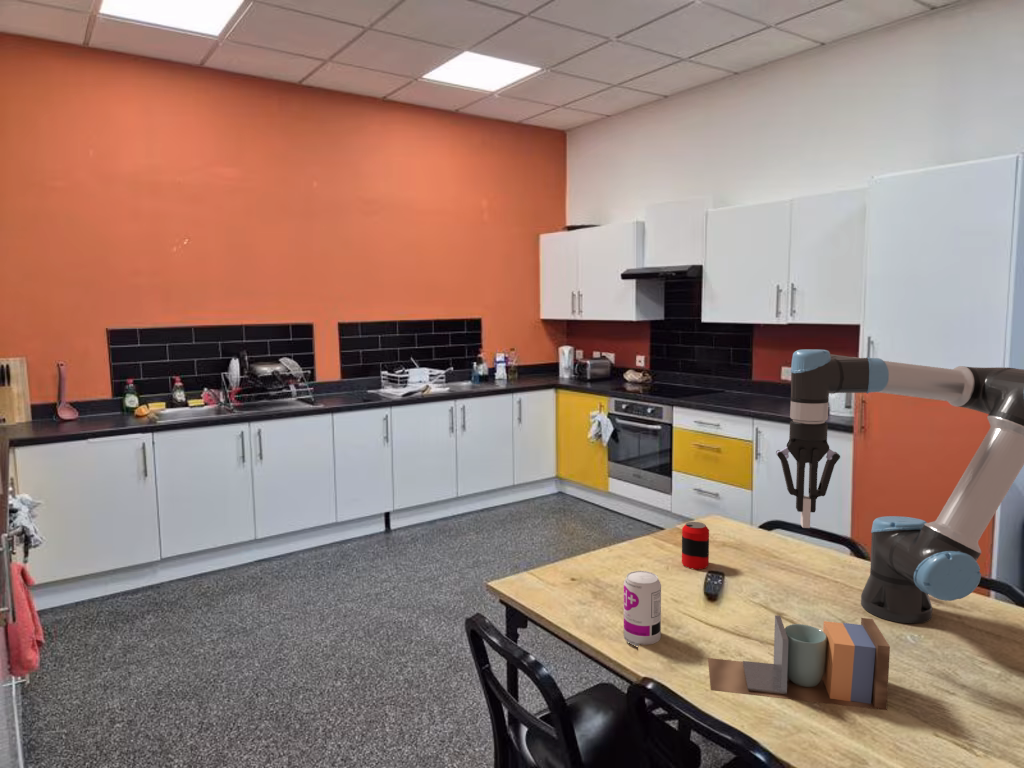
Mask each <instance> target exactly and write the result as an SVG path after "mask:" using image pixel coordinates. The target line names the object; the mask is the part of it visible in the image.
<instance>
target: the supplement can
mask: <svg viewBox="0 0 1024 768" xmlns="http://www.w3.org/2000/svg"><path fill="white" fill-rule="evenodd" d="M661 620H662V584H661V581H660V579H659V577H658V575H656V574H655V573H653V572H650V571H647V570H635V571H634V570H633V571H631V572H629V573H627V575H626V577H625V579H624V581H623V639H624V640H625V641H626V642H627V643H628V642H629V643H630V644H632V645H635V646H638V647H639V645H643V646H646V645H647V646H648V645H653V644H656V643H658V642H659V641H660V640H661V638H662V637H661V636H662V632H661V631H662V630H661V629H662V627H661V626H662V625H661V624H662V622H661ZM629 643H628V644H629ZM630 644H629V645H630ZM632 645H631V646H632ZM638 647H637V648H638Z"/></svg>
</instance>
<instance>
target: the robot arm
mask: <svg viewBox="0 0 1024 768" xmlns="http://www.w3.org/2000/svg"><path fill="white" fill-rule="evenodd" d="M790 365H791V367H790V373H791V374H790V377H791V378H790V407H789V410H790V411H789V418H790V419H791V420H790V421H789V439H788V441H787V444H786V447H784V448H782V449H777V450H776V452H775V454H776V456H777V457H778V458H779V460H780V463H781V467H782V473H783V475H784V480H785V484H786V489H787V491H788V494H790V495H792V496H794V497H796V498H795V509H796V510H797V512H798V513H800V526H801V527H802V528H803V529H810V528H811V514H812V513H815V512H816V509H817V508H816V506H817V499H818V498H819V497H824V496H826V494H827V490H828V488H829V485H830V481H831V477H832V474H833V471H834V469H835V465H836V464H837V462H838V461H839V460H840V459H841V455H840V454H839V453H838V452H836V451H833V450H832V449H831V448H830V445H829V443H828V425H829V424H828V423H827V421H828V419H829V416H828V415H829V401H830V400H829V398H830V397H829V395H830V394H860V393H861V394H868V395H869V393H870V394H871V393H881V394H888V395H894V396H895V395H896V396H905V397H912V398H921V399H928V400H935V401H942V402H943V401H944V402H947V403H948V404H950V405H951V406H952V407H955V408H956V407H957V408H959V407H960V408H965V409H969V410H971V411H972V410H973V411H976V412H980V413H984V414H986V415H987V417H986V418H987V421H988V423H989V429H988V431H987V432H986V434H985V436H984V438H983V440H982V441H981V443H980V445H979V447H978V448H977V450H976V451H975V453H974V455H973V456H972V458H971V460H970V462H969V463H968V465H967V467H966V469H964V471H963V474H962V476H961V477H960V479H959V480H958V482H957V483H956V485H955V487H954V489H953V490H952V493H951V494H950V496H949V497H948V499H947V501H946V503H945V504H944V505H943V507H942V509H941V511H940V513H939V514H938V516H937V518H936V519H935V520H934V521H930V522H927V521H926V520H924V519H920V518H915V517H908V516H898V515H894V516H893V515H891V516H890V515H888V516H887V515H886V516H879V517H877V518H875V519H874V520H873V521H872V526H871V530H870V533H871V541H870V542H871V543H870V544H871V547H870V567H869V568H870V572H869V576H868V578H867V581H866V583H865V585H864V587H863V589H862V592H861V596H860V605H861V606H862V608H863V609H864V610H865V611H866V612H868V613H869V614H872V615H873V616H876V617H878V618H880V619H884V620H887V621H892V622H896V623H900V624H901V623H902V624H923V623H926V622H928V621H930V620H931V619H932V618H933V617H932V616H933V605H932V603H931V599H930V597H933V598H935V599H937V600H940V601H945V602H946V601H947V602H950V601H953V602H954V601H955V600H961V599H964V598H965V597H968V596H969V595H970V594H972V593H973V592H975V590H976V588H978V585H979V584H980V582H981V578H982V573H981V572H980V570H981V568H980V564H979V563H978V560H979V558H980V556H981V554H982V549H981V547H980V545H979V541H980V539H981V537H982V535H983V533H984V532H985V531H986V529H987V527H988V526H989V524H990V522H991V520H992V519H993V517H994V515H995V514H996V513H997V510H998V509H999V507H1000V505H1002V504H1001V503H1002V502H1003V501H1004V499H1005V497H1006V496H1007V494H1008V493H1009V490H1010V489H1011V488H1012V485H1013V484H1014V482H1015V480H1016V479H1017V477H1018V476H1019V473H1020V472H1021V470H1022V469H1023V467H1024V369H1022V368H1015V367H999V366H998V367H976V366H975V367H974V366H973V367H972V366H961V365H959V366H956V367H954V368H953V369H952V368H944V367H938V366H936V367H935V366H927V365H921V364H920V365H919V364H913V363H903V362H895V361H889V360H883V359H882V358H879V357H869V356H867V357H855V356H846V355H839V354H838V355H837V354H831V352H830V351H829V350H827V349H814V348H813V349H809V348H808V349H798V350H796V351H794V352H793V353H792V358H791V364H790ZM789 454H791V455H792V457H793V458H794V459H795V461H796V479H795V480H796V483H795V485H796V486H795V485H794V482H793V477H792V472H791V468H790V464H789V461H788V459H789V457H790V456H789ZM825 455H826V456H825ZM824 457H825V458H826V461H825V464H824V468H823V471H822V473H821V477H820V481H819V484H818V469H819V462H820V461H821V460H822V459H823V458H824ZM806 464H808V467H809V468H808V473H809V474H808V495H805V476H806V475H805V469H806Z"/></svg>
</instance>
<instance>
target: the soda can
mask: <svg viewBox="0 0 1024 768" xmlns="http://www.w3.org/2000/svg"><path fill="white" fill-rule="evenodd" d="M709 553H710V529H709V528H708V526H707V524H705V523H704V522H699V521H688V522H686V523H685V524H684V525H683V526H682V529H681V564H682V566H684V567H685V566H686V568H687V567H689V568H688V569H691V568H693V569H692V570H703V568H704V569H706V568H708V567H709V564H710V563H709V561H710V559H709V558H710V556H709V555H710V554H709Z"/></svg>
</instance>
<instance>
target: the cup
mask: <svg viewBox="0 0 1024 768" xmlns="http://www.w3.org/2000/svg"><path fill="white" fill-rule="evenodd" d="M784 628H785V631H786V634H787V637H788V669H787V677H788V679H789V680H790V681H792V682H793V683H795V684H797V685H799V686H803V687H814V686H816V685H818V684H819V683H820V682H821V681H822V679H823V676H824V672H825V666H826V653H827V637H826V634H825V633H824V632H823V630H821V629H820V628H818V627H815V626H813V625H808V624H801V623H792V624H789V625H787V626H785V627H784Z"/></svg>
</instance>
